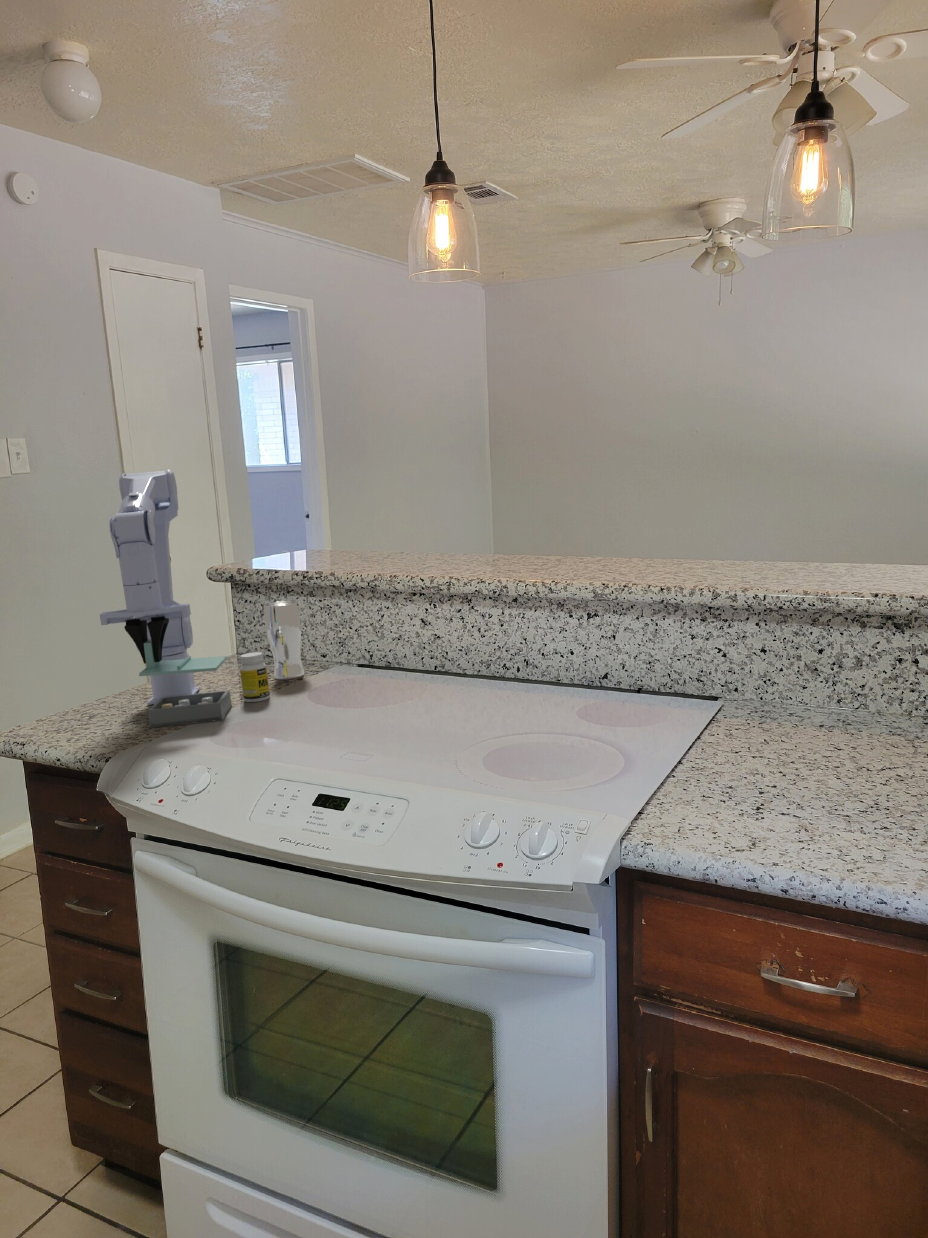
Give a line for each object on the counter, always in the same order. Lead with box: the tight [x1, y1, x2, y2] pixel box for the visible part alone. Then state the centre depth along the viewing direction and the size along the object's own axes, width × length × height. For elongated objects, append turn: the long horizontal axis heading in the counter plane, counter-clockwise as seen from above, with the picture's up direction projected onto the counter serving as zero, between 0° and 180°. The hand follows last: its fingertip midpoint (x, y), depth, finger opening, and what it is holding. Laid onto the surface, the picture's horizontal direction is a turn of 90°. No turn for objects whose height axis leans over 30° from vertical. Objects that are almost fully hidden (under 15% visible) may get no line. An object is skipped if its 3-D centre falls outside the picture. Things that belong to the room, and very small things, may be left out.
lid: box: [138, 639, 228, 677], centre depth 151 cm, size 10×13×5 cm
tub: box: [147, 690, 233, 729], centre depth 153 cm, size 9×12×3 cm
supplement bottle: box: [239, 651, 271, 703], centre depth 161 cm, size 5×5×8 cm
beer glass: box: [263, 599, 305, 681], centre depth 178 cm, size 7×7×15 cm
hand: (152, 661), depth 151 cm, fingers closed on lid
